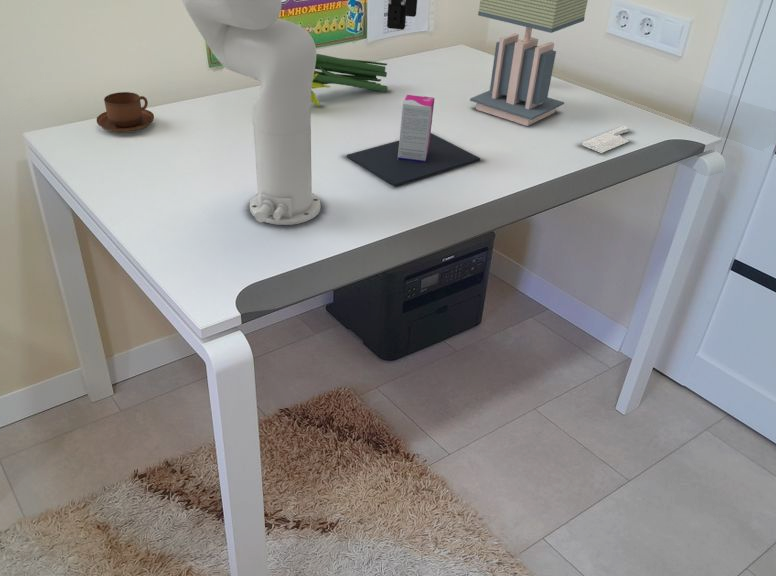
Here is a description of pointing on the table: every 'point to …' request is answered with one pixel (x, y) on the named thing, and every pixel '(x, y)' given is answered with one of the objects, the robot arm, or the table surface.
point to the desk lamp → (525, 58)
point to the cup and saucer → (125, 113)
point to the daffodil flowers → (355, 69)
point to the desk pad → (402, 172)
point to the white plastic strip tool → (607, 140)
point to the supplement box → (415, 128)
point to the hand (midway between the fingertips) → (401, 21)
